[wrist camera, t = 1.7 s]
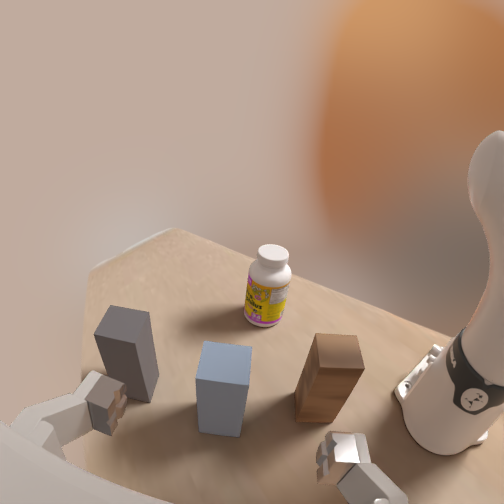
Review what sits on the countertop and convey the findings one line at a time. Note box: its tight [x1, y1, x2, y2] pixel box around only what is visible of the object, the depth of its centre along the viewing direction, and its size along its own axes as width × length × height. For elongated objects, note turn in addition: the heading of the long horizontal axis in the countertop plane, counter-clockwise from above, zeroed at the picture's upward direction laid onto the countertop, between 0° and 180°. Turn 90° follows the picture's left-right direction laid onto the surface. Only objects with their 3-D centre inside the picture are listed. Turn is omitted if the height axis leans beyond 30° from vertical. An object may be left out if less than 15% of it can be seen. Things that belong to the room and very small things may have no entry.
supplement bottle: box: [244, 244, 291, 327], centre depth 50 cm, size 7×7×13 cm
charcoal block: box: [94, 305, 159, 403], centre depth 35 cm, size 5×5×12 cm
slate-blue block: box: [196, 341, 252, 437], centre depth 32 cm, size 5×5×12 cm
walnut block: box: [295, 333, 365, 423], centre depth 35 cm, size 5×5×12 cm
